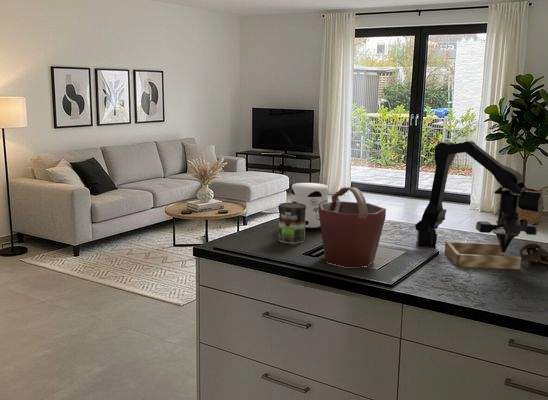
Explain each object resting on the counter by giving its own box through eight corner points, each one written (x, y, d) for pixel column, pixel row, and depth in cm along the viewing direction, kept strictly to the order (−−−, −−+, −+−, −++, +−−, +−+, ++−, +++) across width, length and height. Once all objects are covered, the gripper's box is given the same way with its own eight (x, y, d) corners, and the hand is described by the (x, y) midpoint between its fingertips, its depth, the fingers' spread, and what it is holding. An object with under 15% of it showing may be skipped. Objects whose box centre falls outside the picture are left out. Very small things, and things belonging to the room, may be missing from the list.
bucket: (315, 250, 199) (318, 182, 195) (377, 252, 199) (381, 183, 194) (319, 271, 175) (322, 194, 171) (388, 273, 175) (393, 196, 170)
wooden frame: (456, 266, 184) (457, 254, 183) (444, 251, 201) (445, 241, 200) (519, 269, 182) (521, 257, 181) (502, 254, 199) (503, 243, 198)
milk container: (330, 232, 226) (332, 189, 222) (288, 231, 226) (289, 188, 222) (327, 223, 243) (328, 182, 239) (287, 222, 243) (289, 181, 239)
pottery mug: (556, 270, 184) (549, 250, 181) (527, 279, 187) (520, 260, 184) (543, 251, 195) (536, 233, 192) (516, 260, 197) (509, 242, 195)
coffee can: (299, 245, 204) (301, 208, 202) (274, 242, 208) (275, 206, 206) (308, 239, 214) (309, 203, 211) (283, 236, 218) (284, 201, 215)
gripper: (487, 211, 180) (482, 257, 183) (545, 214, 179) (540, 260, 182) (477, 205, 191) (473, 248, 194) (532, 207, 190) (527, 250, 193)
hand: (503, 252), depth 190 cm, fingers closed
